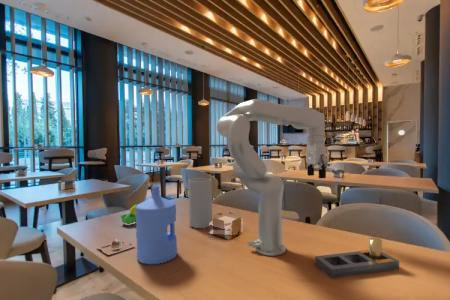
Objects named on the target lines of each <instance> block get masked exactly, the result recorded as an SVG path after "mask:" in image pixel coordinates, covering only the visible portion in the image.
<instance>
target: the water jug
mask: <svg viewBox="0 0 450 300" xmlns="http://www.w3.org/2000/svg"><path fill="white" fill-rule="evenodd" d="M160 192H161V190H160V186H159V185H155V186H151V197H149V198H148V199H146V200H144V201H142V202H140V203H138V205H137V206H136V224H135V226H136V230H135V231H136V232H135V234H136V235H135V238H136V259H137V261H138V262H139V263H141V262H142V263H141V264H144V263H145V264H144V265H160V263H161V264H165V263H167V261H168V262H169V261H171V259H172V260H173V259H174V258H175V257H176V256H177V254H178V246H177V245H178V244H177V243H178V242H177V240H178V239H177V235H176V232H175V230H176V228H175V227H176V225H175V222H176V221H177V207H176V206H177V204H176V203H175V202H174V201H173V200H170V199H167V198H165V197H161V195H160V194H161V193H160ZM168 227H170V228H169V230H170V231H169V232H168ZM164 262H165V263H164Z"/></svg>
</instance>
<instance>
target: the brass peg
mask: <svg viewBox="0 0 450 300" xmlns="http://www.w3.org/2000/svg"><path fill="white" fill-rule="evenodd" d="M368 250H369V258H371V259H373V260H374V261H375V260H382V252H383V240H382V239H381V238H377V237H369V239H368Z"/></svg>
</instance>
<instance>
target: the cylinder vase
mask: <svg viewBox="0 0 450 300" xmlns="http://www.w3.org/2000/svg"><path fill="white" fill-rule="evenodd" d="M187 182H188V183H187V184H188V186H187V187H188V188H187V189H188V219H189V220H188V221H189V223H188V224H189V227H190V226H191V227H190V228H192V227H195V228H194V229H196V228H203V229H205V228H204V227H208V226H209V223H210V222H211V221H212V222H213V192H212V190H213V189H212V183H213V182H212V178H209V177H208V178H207V177H206V178H205V177H195V178H191V179H188V181H187ZM208 228H209V227H208Z"/></svg>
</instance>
